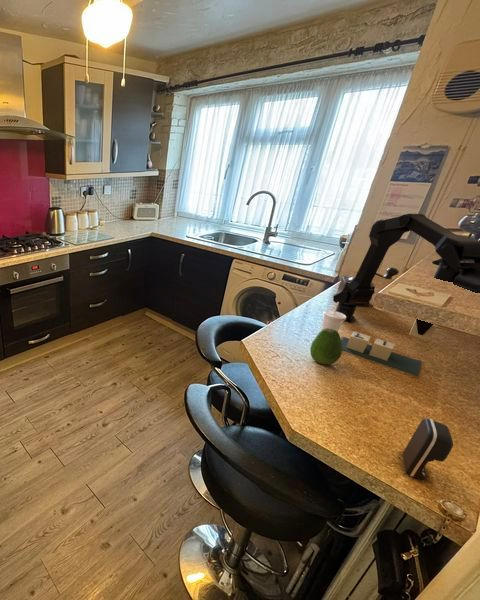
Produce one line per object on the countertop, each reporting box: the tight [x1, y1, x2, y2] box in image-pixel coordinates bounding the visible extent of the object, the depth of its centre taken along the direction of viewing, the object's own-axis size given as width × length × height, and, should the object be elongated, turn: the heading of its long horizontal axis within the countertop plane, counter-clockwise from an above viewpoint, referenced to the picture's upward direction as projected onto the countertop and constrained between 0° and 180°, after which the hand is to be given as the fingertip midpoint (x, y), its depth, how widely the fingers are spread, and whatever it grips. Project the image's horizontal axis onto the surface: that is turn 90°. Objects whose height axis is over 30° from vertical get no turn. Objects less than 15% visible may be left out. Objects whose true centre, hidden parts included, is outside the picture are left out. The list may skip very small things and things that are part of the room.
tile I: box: [369, 338, 395, 361], centre depth 103 cm, size 4×4×5 cm
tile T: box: [408, 319, 438, 341], centre depth 96 cm, size 4×4×5 cm
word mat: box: [341, 336, 422, 377], centre depth 104 cm, size 11×20×1 cm, turn 42°
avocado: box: [310, 328, 343, 365], centre depth 99 cm, size 8×8×12 cm
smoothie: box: [320, 302, 346, 333], centre depth 111 cm, size 6×6×14 cm
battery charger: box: [402, 417, 454, 480], centre depth 65 cm, size 7×4×11 cm, turn 142°
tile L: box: [347, 331, 371, 353], centre depth 107 cm, size 4×4×5 cm
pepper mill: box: [335, 267, 400, 308], centre depth 138 cm, size 16×11×18 cm
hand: (421, 331), depth 97 cm, fingers closed on tile T, 4 cm apart
